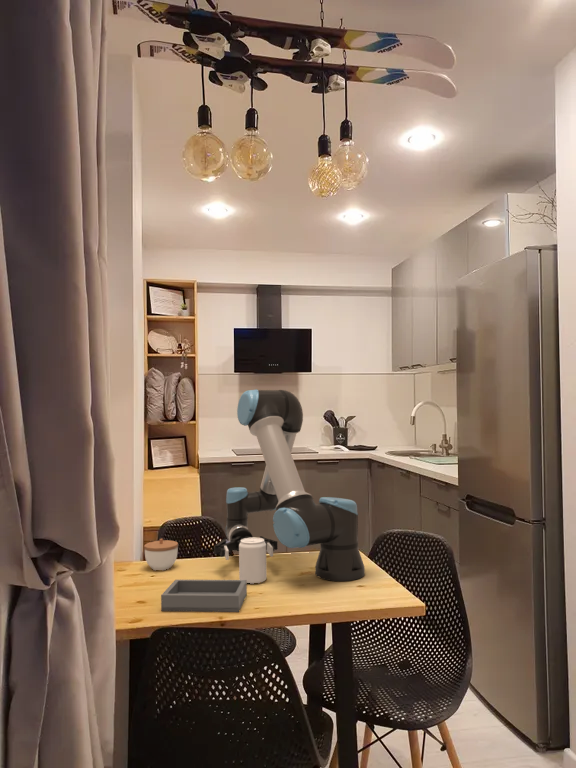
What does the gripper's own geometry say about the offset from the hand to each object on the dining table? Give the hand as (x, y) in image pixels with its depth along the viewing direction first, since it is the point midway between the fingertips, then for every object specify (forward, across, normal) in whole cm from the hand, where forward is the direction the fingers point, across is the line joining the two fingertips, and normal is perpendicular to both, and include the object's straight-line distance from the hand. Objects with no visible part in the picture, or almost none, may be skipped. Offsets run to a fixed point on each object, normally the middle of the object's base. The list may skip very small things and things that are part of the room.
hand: (249, 553), depth 166 cm
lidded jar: (-19, +26, -8) cm, 33 cm away
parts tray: (+18, +15, -7) cm, 24 cm away
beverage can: (+3, 0, -8) cm, 8 cm away
